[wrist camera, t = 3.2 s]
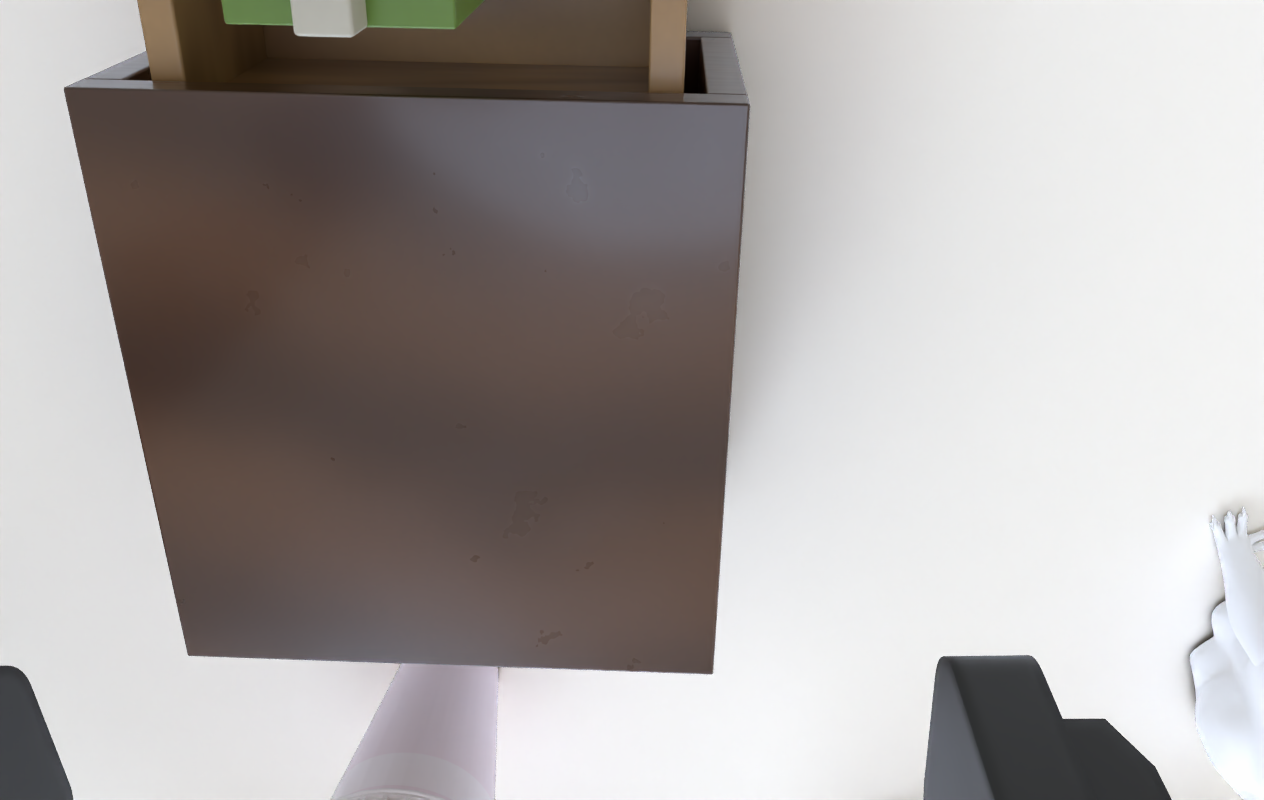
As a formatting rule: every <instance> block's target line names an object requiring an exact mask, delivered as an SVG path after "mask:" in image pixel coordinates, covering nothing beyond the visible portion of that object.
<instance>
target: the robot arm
mask: <svg viewBox="0 0 1264 800" xmlns="http://www.w3.org/2000/svg"><path fill="white" fill-rule="evenodd" d="M0 800H73V795H72V790H71V787H70V784H69V781H68V779H67V776H66V774H65V771H64V768H63V766H62V763H61V761H60V758H59V756H58V753H57V751H56V748H55V745H54V743H53V740H52V738H51V735H50V733H49V730H48V728H47V725H46V722H45V720H44V717H43V715H42V712H41V710H40V707H39V705H38V702H37V699H36V697H35V694H34V692H33V689H32V687H31V684H30V682H29V680H28V678H27V677H26V676H25V674H24V673H23V672H22V671H20V670H19V669H18V668H15V667H13V666H0ZM924 800H1172V799H1171V797H1170V795H1169V793H1168V791H1167V789H1166V787H1165V785H1164V783H1163V782H1162V780H1161V778H1160V776H1159V774H1158V772H1157V770H1156V768H1155V766H1154V765H1153V764H1152V763H1150V762H1149V761H1148V760H1147V759H1146V758H1145V757H1144V756H1143V755H1142V754H1141V753H1140V752H1139V751H1138V750H1137V749H1136V748H1135V747H1134V746H1133V745H1132V744H1131V743H1130V742H1129V741H1127V740H1126V739H1125V738H1124V737H1123V736H1122V735H1121V734H1120V733H1119V732H1118V731H1117V730H1116V729H1115V728H1114V727H1113V726H1112V725H1111V724H1110V723H1109V722H1108V721H1107V720H1106V719H1062V716H1061V714H1060V712H1059V709H1058V707H1057V705H1056V702H1055V700H1054V698H1053V695H1052V693H1051V691H1050V688H1049V686H1048V684H1047V681H1046V679H1045V677H1044V674H1043V672H1042V670H1041V668H1040V666H1039V664H1038V662H1037V661H1036V660H1035V659H1034V658H1033V657H1032V656H1029V655H1018V656H943V657H941V658H940V660H939V662H938V664H937V669H936V675H935V683H934V693H933V703H932V712H931V722H930V731H929V741H928V751H927V760H926V770H925V779H924Z"/></svg>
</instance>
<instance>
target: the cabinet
mask: <svg viewBox="0 0 1264 800" xmlns="http://www.w3.org/2000/svg"><path fill="white" fill-rule="evenodd" d="M64 92H65V97H66V102H67V106H68V111H69V115H70V120H71V124H72V129H73V133H74V138H75V143H76V147H77V152H78V156H79V161H80V165H81V170H82V175H83V179H84V184H85V188H86V193H87V197H88V202H89V206H90V211H91V216H92V220H93V225H94V229H95V234H96V238H97V243H98V247H99V252H100V257H101V261H102V266H103V270H104V275H105V279H106V284H107V288H108V293H109V298H110V302H111V307H112V311H113V316H114V320H115V325H116V329H117V334H118V339H119V343H120V348H121V352H122V357H123V361H124V366H125V370H126V375H127V380H128V384H129V389H130V393H131V398H132V402H133V407H134V411H135V416H136V421H137V425H138V430H139V434H140V439H141V443H142V448H143V452H144V457H145V462H146V466H147V471H148V475H149V480H150V484H151V489H152V493H153V498H154V503H155V507H156V512H157V516H158V521H159V525H160V530H161V534H162V539H163V544H164V548H165V553H166V557H167V562H168V566H169V571H170V575H171V580H172V585H173V589H174V594H175V598H176V603H177V607H178V612H179V616H180V621H181V626H182V630H183V635H184V639H185V644H186V648H187V653H188V655H189V656H208V657H236V658H264V659H293V660H321V661H349V662H377V663H405V664H433V665H461V666H490V667H518V668H546V669H574V670H602V671H630V672H658V673H687V674H712V673H713V666H714V651H715V636H716V620H717V605H718V590H719V574H720V559H721V544H722V528H723V513H724V498H725V482H726V467H727V452H728V437H729V421H730V406H731V391H732V375H733V360H734V345H735V329H736V314H737V299H738V283H739V268H740V253H741V237H742V222H743V207H744V192H745V176H746V161H747V146H748V130H749V115H750V104H749V100H748V95H747V92H746V88H745V84H744V80H743V76H742V72H741V69H740V65H739V61H738V57H737V53H736V49H735V45H734V42H733V38H732V35H731V33H729V32H690V31H686V51H685V77H684V93H646V92H604V91H562V90H521V89H479V88H437V87H395V86H353V85H311V84H269V83H227V82H186V81H152V78H151V73H150V67H149V62H148V56H147V51H145V52H143V53H141V54H139V55H137V56H134V57H132V58H130V59H128V60H125V61H123V62H121V63H119V64H116V65H114V66H112V67H110V68H108V69H105V70H103V71H101V72H99V73H96V74H94V75H92V76H90V77H87V78H85V79H82V80H80V81H78V82H76V83H73V84H71V85H69V86H67V87H64Z"/></svg>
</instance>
